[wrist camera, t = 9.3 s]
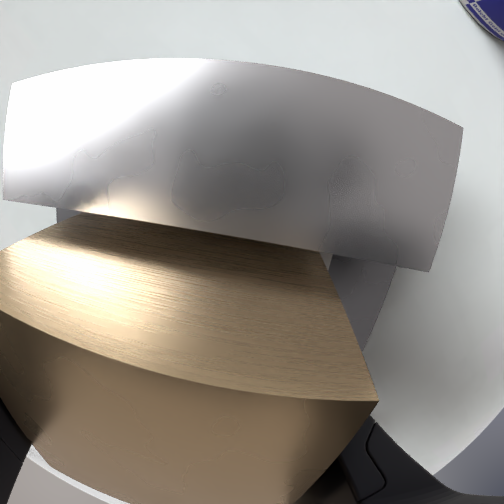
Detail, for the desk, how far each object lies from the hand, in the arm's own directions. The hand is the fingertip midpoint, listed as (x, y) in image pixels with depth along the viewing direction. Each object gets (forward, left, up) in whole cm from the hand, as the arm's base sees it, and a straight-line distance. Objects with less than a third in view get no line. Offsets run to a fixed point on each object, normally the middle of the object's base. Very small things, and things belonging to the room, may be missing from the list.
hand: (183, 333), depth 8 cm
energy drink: (+17, -11, -4) cm, 21 cm away
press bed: (-6, 0, -4) cm, 7 cm away
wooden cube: (0, 0, -2) cm, 2 cm away
